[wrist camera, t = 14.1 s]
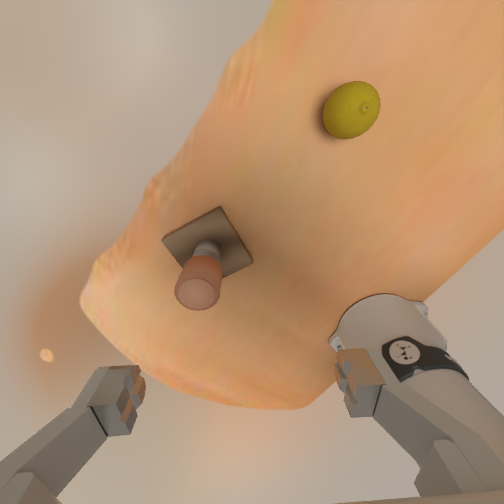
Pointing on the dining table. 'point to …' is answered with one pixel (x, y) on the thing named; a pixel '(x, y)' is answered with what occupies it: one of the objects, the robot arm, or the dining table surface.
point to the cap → (199, 283)
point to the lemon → (351, 110)
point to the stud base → (209, 231)
